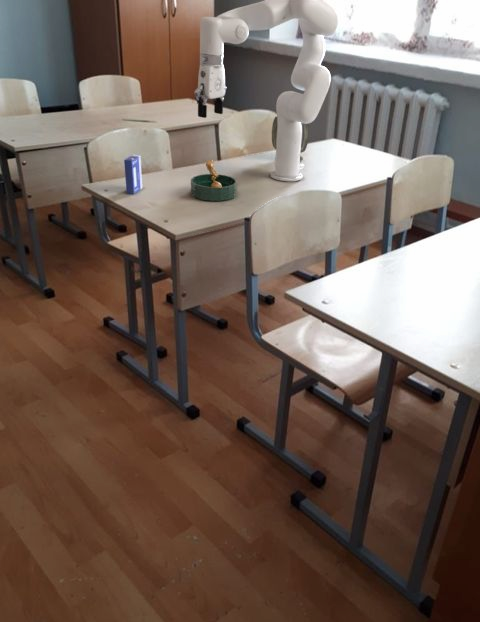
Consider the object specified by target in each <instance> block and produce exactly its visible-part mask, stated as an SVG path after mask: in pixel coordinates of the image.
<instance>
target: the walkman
mask: <svg viewBox="0 0 480 622" xmlns="http://www.w3.org/2000/svg"><path fill="white" fill-rule="evenodd" d="M123 163H124V176H125V188H126V191H125V192H126V194H129V195H135V194H136V193H138V192H139V191H141V190H142V189H143V174H142V173H143V172H142V157H141V154H131V155H130V156H128V157H126V158H125V159H124V160H123Z"/></svg>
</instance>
